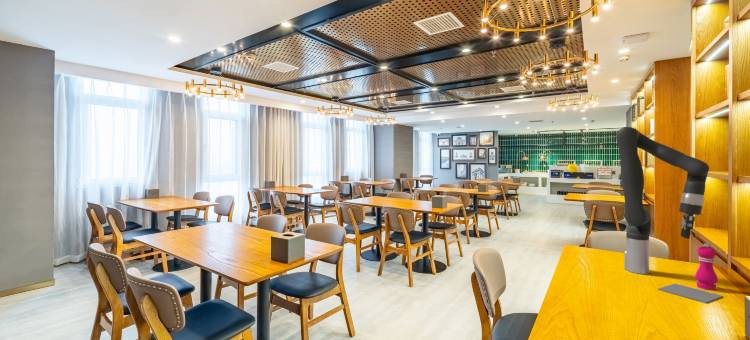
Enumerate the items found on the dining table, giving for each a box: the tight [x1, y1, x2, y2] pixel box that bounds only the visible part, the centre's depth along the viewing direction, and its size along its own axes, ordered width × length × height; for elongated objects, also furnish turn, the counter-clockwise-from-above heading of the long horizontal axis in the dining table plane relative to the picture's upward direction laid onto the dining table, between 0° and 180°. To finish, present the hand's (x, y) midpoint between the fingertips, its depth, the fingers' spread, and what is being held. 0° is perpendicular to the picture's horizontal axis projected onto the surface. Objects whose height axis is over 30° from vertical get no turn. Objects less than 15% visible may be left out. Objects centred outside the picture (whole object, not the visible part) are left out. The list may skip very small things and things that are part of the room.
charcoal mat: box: [658, 283, 724, 304], centre depth 141 cm, size 16×14×1 cm
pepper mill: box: [694, 242, 719, 291], centre depth 147 cm, size 7×7×20 cm
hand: (684, 237), depth 153 cm, fingers open, 8 cm apart
